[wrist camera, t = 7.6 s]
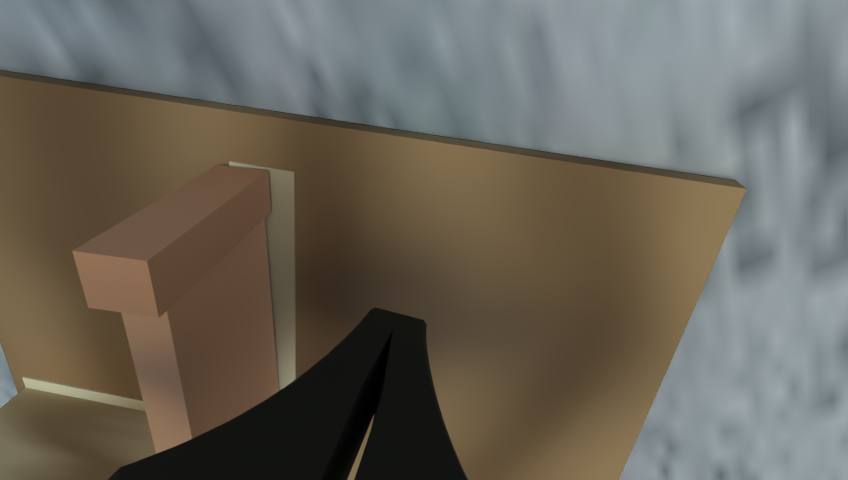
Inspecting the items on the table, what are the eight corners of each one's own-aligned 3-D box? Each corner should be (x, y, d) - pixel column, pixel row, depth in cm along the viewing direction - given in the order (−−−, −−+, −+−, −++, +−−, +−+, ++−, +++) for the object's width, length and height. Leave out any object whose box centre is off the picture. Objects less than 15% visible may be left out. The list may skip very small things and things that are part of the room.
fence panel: (287, 434, 17) (214, 585, 13) (249, 427, 17) (163, 575, 13) (268, 170, 13) (147, 260, 8) (217, 164, 13) (72, 250, 9)
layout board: (64, 484, 22) (52, 497, 21) (-74, 59, 14) (-101, 61, 13) (561, 589, 20) (563, 607, 20) (735, 180, 12) (748, 189, 12)
